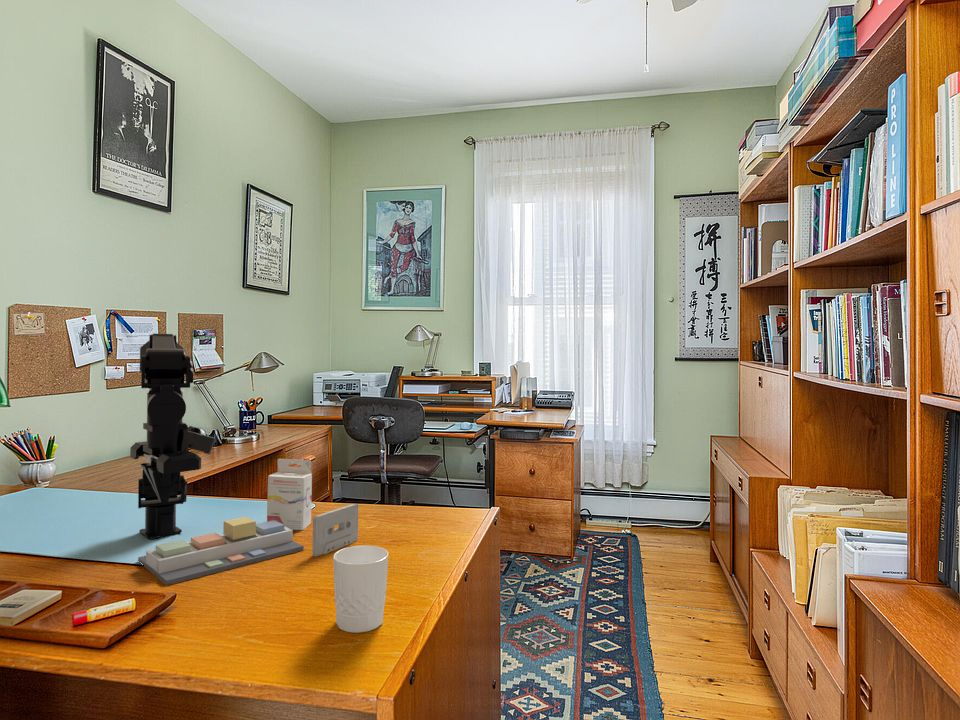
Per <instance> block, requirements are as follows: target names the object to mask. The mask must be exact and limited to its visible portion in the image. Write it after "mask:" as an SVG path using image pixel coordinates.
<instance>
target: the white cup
mask: <svg viewBox="0 0 960 720" xmlns="http://www.w3.org/2000/svg"><path fill="white" fill-rule="evenodd" d="M332 561H333V586H334V587H333V589H334V605H335V624H336V626H337V628H338V629H339V630H341V631H344V632H346V633H355V634H359V633H367V632H370V631H372V630H373V631H374V630H375V629H378V628H379V627H380V626H381V625H382V624H383V622H384V614H385V613H384V611H385V604H386V595H387V585H388V581H387V580H388V567H389V566H388V565H389V551H388V550H387V549H386V548H383V547H381V546H376V545H354V546H348V547H343V548H342V549H341V548H340V550H337V551H336V552H334V554H333V560H332Z"/></svg>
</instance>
